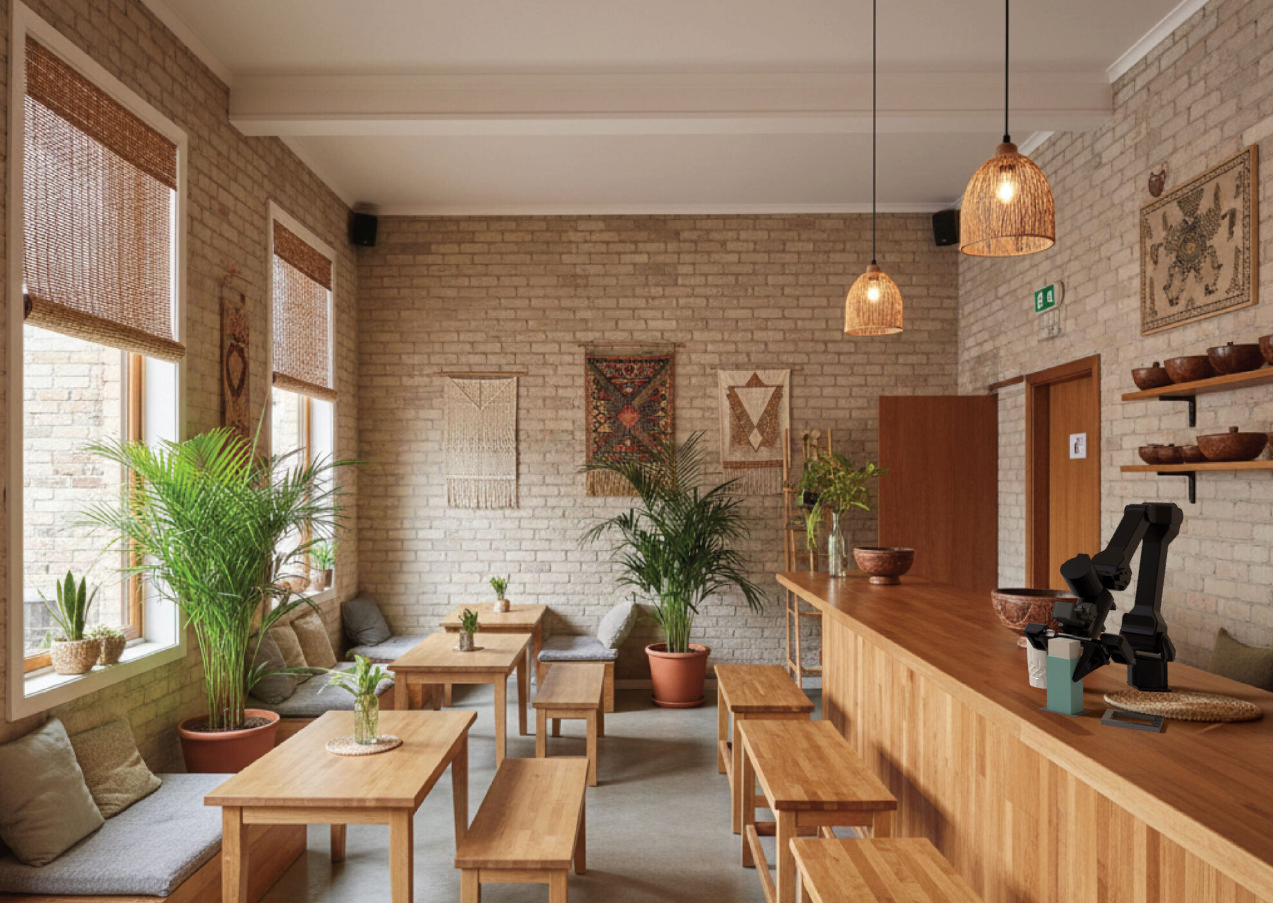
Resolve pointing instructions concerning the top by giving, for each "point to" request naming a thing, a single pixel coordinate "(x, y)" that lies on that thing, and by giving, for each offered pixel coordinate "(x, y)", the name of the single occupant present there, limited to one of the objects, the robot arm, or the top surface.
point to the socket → (1131, 725)
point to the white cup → (1036, 666)
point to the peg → (1063, 676)
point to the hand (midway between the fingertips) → (1060, 678)
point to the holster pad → (1067, 714)
